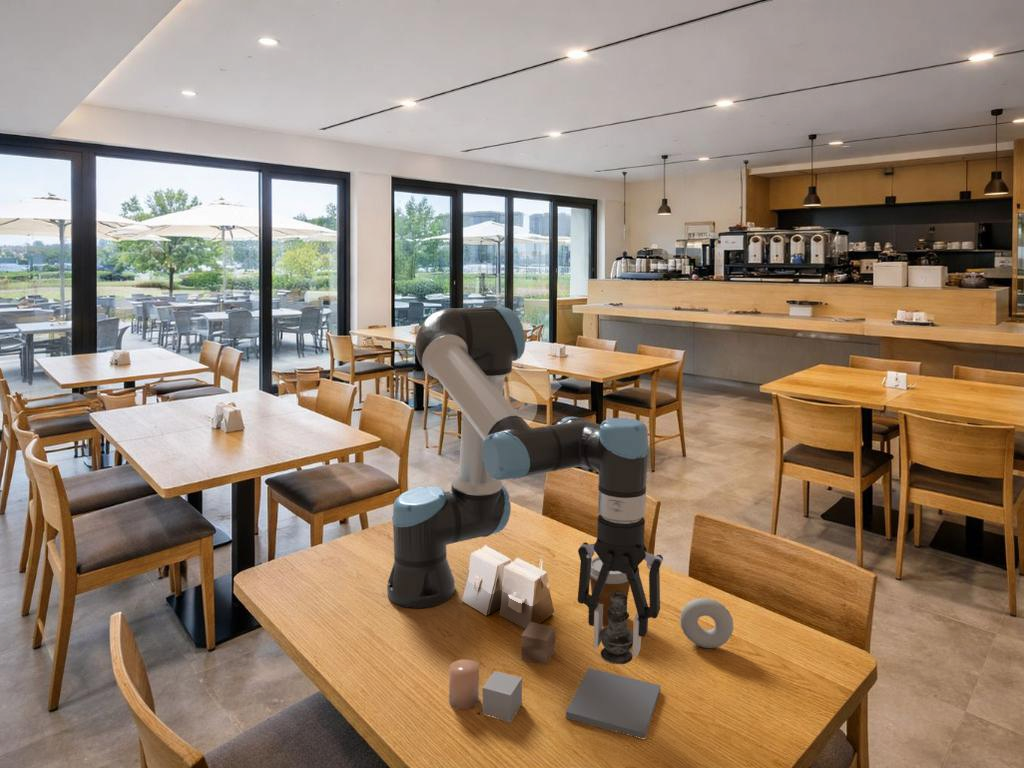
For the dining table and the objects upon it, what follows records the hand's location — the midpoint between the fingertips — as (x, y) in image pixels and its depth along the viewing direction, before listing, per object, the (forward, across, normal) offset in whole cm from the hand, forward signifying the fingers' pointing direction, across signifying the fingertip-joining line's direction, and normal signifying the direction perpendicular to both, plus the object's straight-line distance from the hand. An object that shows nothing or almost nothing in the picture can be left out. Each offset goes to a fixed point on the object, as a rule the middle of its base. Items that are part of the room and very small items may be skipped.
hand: (616, 647), depth 110 cm
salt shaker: (+2, 0, 0) cm, 2 cm away
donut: (+11, +12, +24) cm, 29 cm away
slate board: (+11, 0, 0) cm, 11 cm away
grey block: (+11, -17, -8) cm, 22 cm away
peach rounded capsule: (+11, -24, -9) cm, 28 cm away
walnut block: (+11, -17, +9) cm, 22 cm away
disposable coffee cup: (+11, -8, +27) cm, 30 cm away
